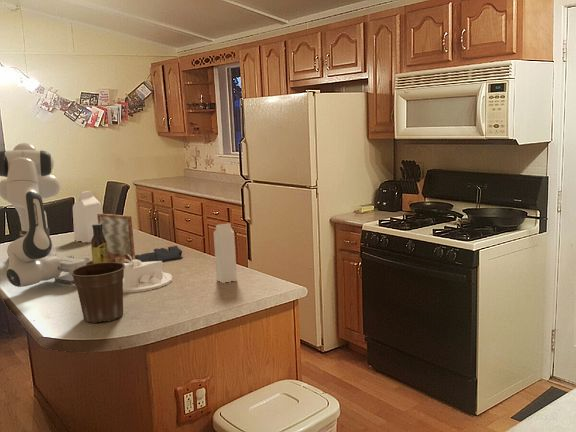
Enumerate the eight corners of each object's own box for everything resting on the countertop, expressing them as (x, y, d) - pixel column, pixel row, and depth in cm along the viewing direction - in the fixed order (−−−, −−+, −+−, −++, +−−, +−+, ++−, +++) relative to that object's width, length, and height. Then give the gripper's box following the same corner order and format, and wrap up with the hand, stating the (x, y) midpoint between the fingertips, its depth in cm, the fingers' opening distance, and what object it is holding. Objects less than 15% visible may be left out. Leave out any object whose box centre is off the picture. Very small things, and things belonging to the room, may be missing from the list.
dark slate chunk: (128, 260, 255) (127, 250, 254) (175, 253, 265) (174, 243, 264) (138, 267, 241) (137, 257, 241) (186, 259, 252) (186, 249, 251)
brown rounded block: (113, 269, 238) (112, 258, 238) (121, 266, 242) (120, 255, 241) (121, 270, 236) (119, 259, 235) (129, 268, 240) (127, 256, 239)
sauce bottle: (104, 272, 234) (99, 225, 230) (90, 272, 235) (85, 225, 232) (112, 268, 240) (107, 222, 237) (98, 268, 242) (94, 222, 238)
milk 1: (88, 242, 294) (83, 193, 289) (74, 241, 300) (69, 192, 295) (107, 238, 304) (102, 190, 299) (93, 236, 310) (88, 189, 305)
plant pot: (65, 323, 176) (59, 273, 173) (99, 306, 191) (94, 260, 188) (107, 328, 170) (102, 277, 167) (139, 310, 185) (135, 263, 182)
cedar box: (70, 272, 236) (64, 220, 232) (104, 262, 251) (99, 213, 247) (102, 278, 226) (96, 223, 222) (136, 267, 241) (131, 216, 237)
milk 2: (237, 281, 214) (234, 224, 210) (222, 283, 211) (219, 226, 207) (230, 277, 219) (227, 221, 215) (216, 280, 216) (212, 223, 212)
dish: (113, 297, 201) (110, 267, 199) (101, 281, 223) (98, 253, 221) (180, 285, 212) (178, 256, 210) (162, 271, 234) (160, 244, 232)
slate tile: (54, 280, 224) (54, 278, 224) (75, 274, 233) (75, 271, 233) (71, 284, 219) (70, 281, 219) (92, 277, 228) (91, 274, 227)
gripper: (67, 262, 211) (96, 253, 222) (33, 256, 222) (63, 248, 233) (68, 278, 212) (98, 269, 224) (35, 272, 223) (65, 263, 234)
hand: (80, 258), depth 228 cm, fingers open, 8 cm apart
